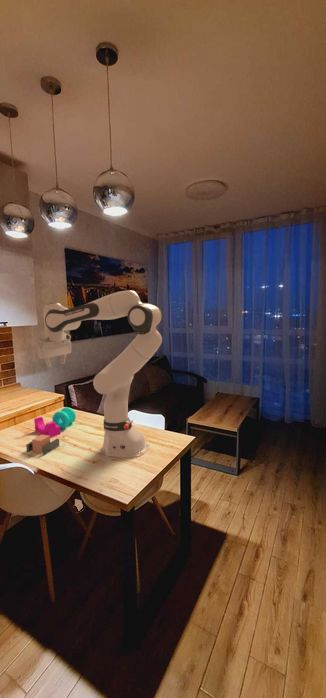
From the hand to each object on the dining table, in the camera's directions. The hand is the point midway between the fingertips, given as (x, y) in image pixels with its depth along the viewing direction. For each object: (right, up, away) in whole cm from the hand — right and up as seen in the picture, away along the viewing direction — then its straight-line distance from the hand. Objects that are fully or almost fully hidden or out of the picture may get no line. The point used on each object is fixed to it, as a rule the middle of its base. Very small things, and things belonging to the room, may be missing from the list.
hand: (56, 365), depth 145 cm
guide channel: (-4, -39, -5) cm, 40 cm away
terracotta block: (-5, -40, -6) cm, 40 cm away
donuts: (-4, -36, +23) cm, 43 cm away
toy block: (-10, -38, +14) cm, 42 cm away
